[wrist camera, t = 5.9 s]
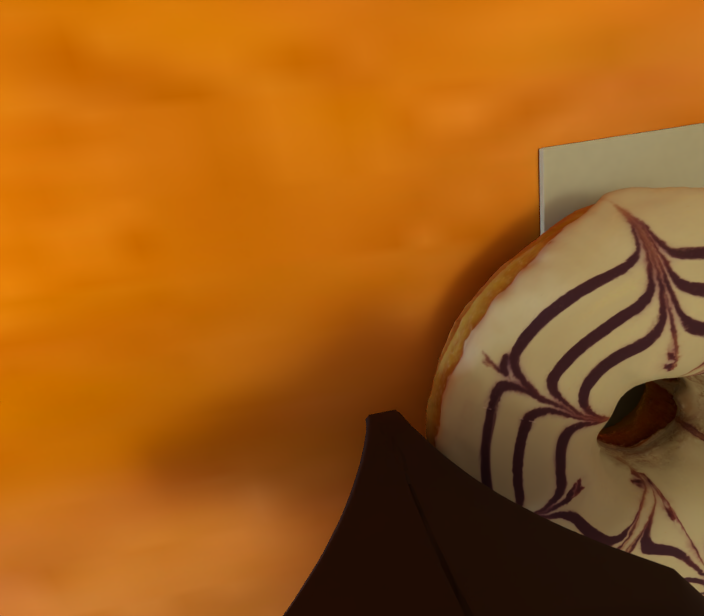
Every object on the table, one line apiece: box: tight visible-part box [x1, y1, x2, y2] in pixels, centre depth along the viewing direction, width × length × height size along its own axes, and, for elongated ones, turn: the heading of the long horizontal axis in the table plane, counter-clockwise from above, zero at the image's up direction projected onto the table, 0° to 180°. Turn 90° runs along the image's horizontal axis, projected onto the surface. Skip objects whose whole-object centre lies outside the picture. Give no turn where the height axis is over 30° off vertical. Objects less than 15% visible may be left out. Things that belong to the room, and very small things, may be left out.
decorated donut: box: [426, 187, 704, 596], centre depth 10 cm, size 10×11×4 cm
